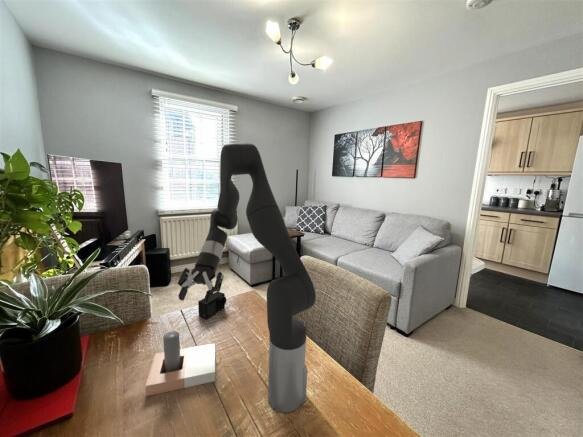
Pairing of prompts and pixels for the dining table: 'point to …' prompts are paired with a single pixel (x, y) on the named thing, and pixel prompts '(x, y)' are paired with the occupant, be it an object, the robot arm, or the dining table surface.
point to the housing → (183, 370)
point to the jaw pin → (172, 351)
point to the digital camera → (212, 305)
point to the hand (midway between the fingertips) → (193, 301)
